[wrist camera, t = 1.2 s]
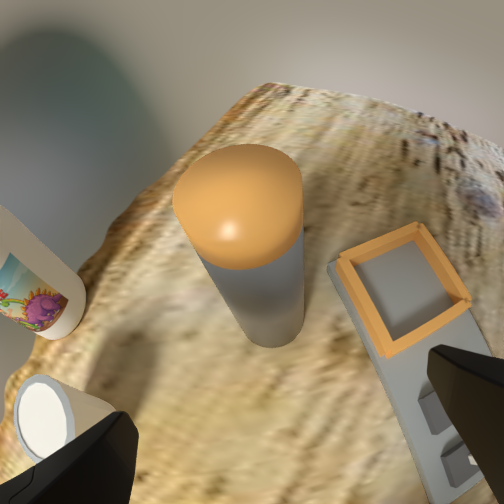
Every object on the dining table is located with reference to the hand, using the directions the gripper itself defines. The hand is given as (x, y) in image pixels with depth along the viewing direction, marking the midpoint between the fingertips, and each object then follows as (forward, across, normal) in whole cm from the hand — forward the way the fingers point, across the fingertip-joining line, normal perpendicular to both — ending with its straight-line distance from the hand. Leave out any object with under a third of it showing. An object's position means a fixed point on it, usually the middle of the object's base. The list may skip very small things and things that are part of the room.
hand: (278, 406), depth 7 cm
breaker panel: (+9, -11, +9) cm, 17 cm away
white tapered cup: (+9, +16, +10) cm, 21 cm away
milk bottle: (+18, +21, +1) cm, 28 cm away
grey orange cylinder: (+15, 0, +4) cm, 15 cm away
